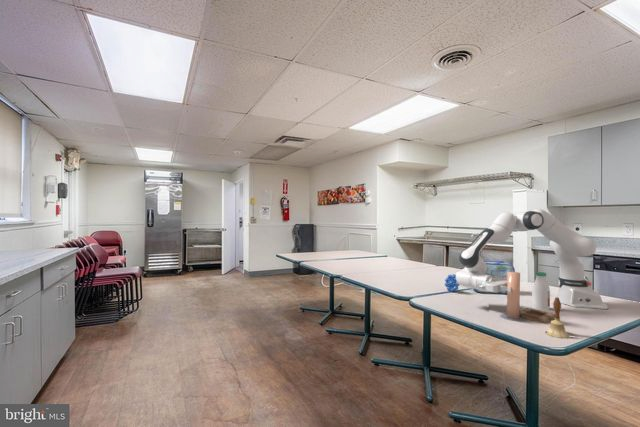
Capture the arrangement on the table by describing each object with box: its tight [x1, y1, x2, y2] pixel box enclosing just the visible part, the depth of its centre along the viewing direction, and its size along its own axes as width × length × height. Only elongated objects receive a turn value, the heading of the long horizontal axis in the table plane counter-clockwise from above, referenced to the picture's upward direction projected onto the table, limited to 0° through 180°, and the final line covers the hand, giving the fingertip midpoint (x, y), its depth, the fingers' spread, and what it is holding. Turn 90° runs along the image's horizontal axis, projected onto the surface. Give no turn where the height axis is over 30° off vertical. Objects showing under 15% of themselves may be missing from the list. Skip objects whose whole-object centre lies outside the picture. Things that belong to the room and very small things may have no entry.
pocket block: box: [519, 307, 555, 324], centre depth 150 cm, size 12×12×3 cm
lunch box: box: [472, 260, 516, 295], centre depth 202 cm, size 26×11×21 cm, turn 81°
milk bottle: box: [531, 271, 551, 311], centre depth 166 cm, size 8×8×20 cm
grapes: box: [444, 273, 460, 293], centre depth 203 cm, size 12×7×12 cm, turn 26°
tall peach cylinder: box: [506, 271, 521, 319], centre depth 150 cm, size 5×5×22 cm
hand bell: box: [544, 297, 570, 339], centre depth 131 cm, size 8×8×16 cm
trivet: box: [499, 313, 528, 323], centre depth 150 cm, size 11×11×1 cm
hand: (515, 288), depth 149 cm, fingers open, 6 cm apart
